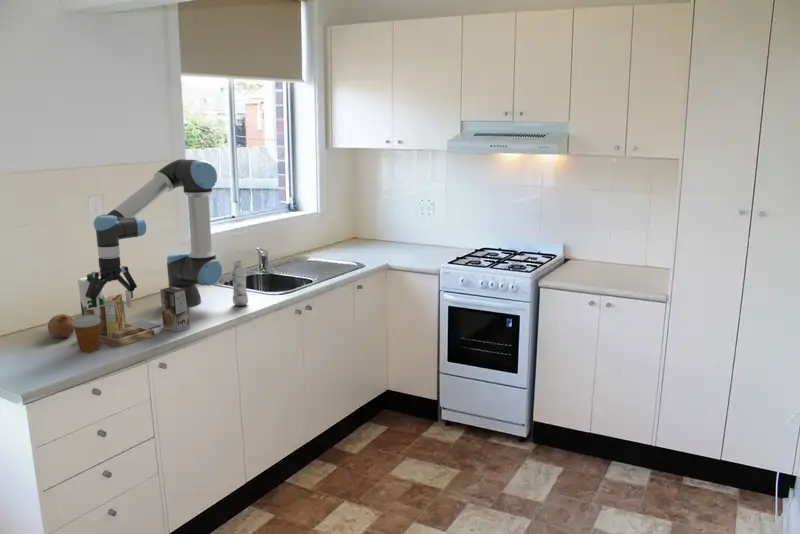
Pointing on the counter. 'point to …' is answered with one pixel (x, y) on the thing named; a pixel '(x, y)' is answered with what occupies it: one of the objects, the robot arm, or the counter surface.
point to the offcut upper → (125, 332)
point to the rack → (128, 339)
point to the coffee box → (175, 308)
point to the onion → (61, 326)
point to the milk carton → (83, 289)
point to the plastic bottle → (239, 284)
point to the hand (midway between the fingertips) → (113, 310)
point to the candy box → (114, 313)
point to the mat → (146, 324)
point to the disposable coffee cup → (87, 332)
